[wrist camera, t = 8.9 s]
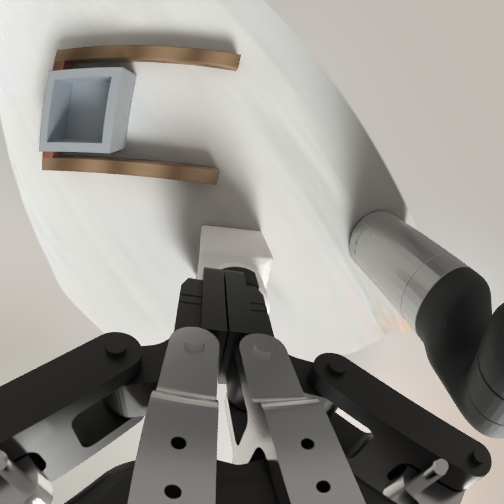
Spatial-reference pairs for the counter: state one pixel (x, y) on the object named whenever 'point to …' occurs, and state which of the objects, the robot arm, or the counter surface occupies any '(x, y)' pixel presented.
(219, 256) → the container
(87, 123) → the box
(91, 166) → the bay
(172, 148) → the counter surface
